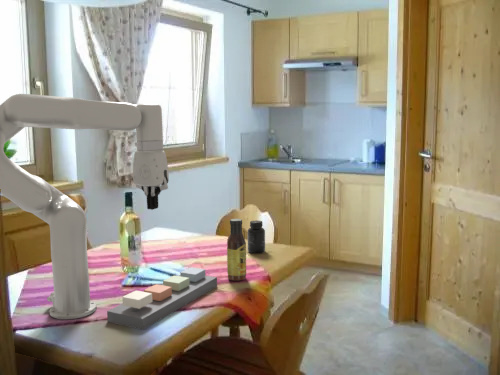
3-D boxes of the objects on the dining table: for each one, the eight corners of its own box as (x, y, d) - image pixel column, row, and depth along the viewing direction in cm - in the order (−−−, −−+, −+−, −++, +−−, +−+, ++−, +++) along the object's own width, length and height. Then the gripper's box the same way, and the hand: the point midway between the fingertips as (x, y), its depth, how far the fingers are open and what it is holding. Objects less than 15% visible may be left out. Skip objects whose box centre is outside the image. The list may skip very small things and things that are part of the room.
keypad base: (107, 321, 147) (107, 311, 146) (185, 281, 179) (185, 272, 178) (143, 329, 141) (142, 318, 141) (217, 286, 173) (216, 277, 173)
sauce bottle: (244, 282, 177) (243, 222, 174) (225, 281, 178) (224, 221, 175) (248, 275, 183) (247, 218, 180) (230, 275, 185) (228, 217, 182)
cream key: (122, 305, 147) (122, 296, 146) (136, 298, 152) (135, 290, 151) (139, 308, 144) (138, 300, 144) (152, 301, 149) (152, 293, 149)
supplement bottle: (267, 253, 210) (267, 222, 209) (250, 254, 209) (249, 224, 207) (262, 248, 217) (262, 219, 215) (245, 250, 215) (245, 220, 214)
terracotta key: (144, 298, 155) (143, 290, 155) (156, 292, 160) (155, 284, 159) (160, 301, 152) (159, 292, 152) (172, 294, 157) (171, 286, 157)
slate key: (180, 279, 171) (180, 272, 170) (190, 274, 176) (190, 267, 175) (195, 282, 168) (195, 274, 168) (205, 276, 173) (205, 269, 173)
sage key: (163, 288, 163) (162, 280, 162) (174, 282, 168) (174, 275, 167) (178, 291, 160) (178, 283, 160) (189, 285, 165) (189, 277, 165)
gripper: (121, 147, 159) (124, 209, 161) (163, 148, 152) (165, 213, 154) (138, 145, 165) (140, 204, 168) (178, 146, 158) (181, 208, 161)
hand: (152, 208), depth 161 cm, fingers closed
